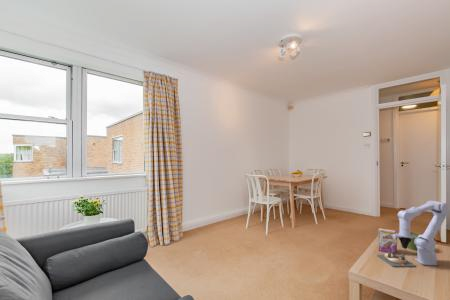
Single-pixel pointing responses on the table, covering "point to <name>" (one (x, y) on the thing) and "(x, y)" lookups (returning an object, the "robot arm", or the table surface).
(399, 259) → the capstan wheel
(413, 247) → the plant pot
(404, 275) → the table surface
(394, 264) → the stand
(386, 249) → the candy bar box
